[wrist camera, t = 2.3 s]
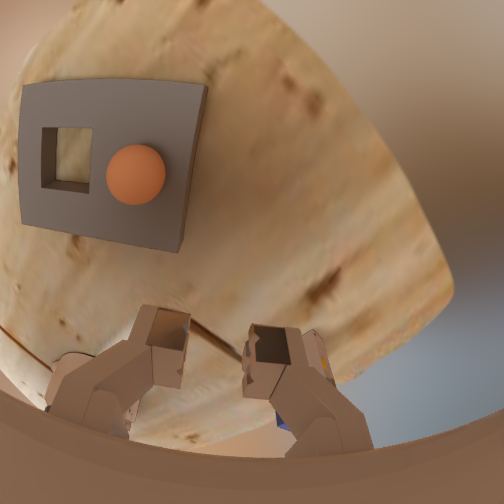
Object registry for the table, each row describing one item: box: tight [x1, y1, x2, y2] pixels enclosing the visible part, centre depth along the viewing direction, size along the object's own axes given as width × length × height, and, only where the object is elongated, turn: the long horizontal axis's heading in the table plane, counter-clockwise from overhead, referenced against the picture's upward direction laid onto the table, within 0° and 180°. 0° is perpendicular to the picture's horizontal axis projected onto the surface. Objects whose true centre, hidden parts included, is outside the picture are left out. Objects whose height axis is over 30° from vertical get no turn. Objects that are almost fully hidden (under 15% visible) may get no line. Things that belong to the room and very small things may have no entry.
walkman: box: [276, 330, 337, 431], centre depth 34 cm, size 8×3×12 cm, turn 134°
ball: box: [106, 144, 166, 205], centre depth 21 cm, size 5×5×5 cm
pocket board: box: [18, 79, 208, 253], centre depth 24 cm, size 16×20×3 cm
